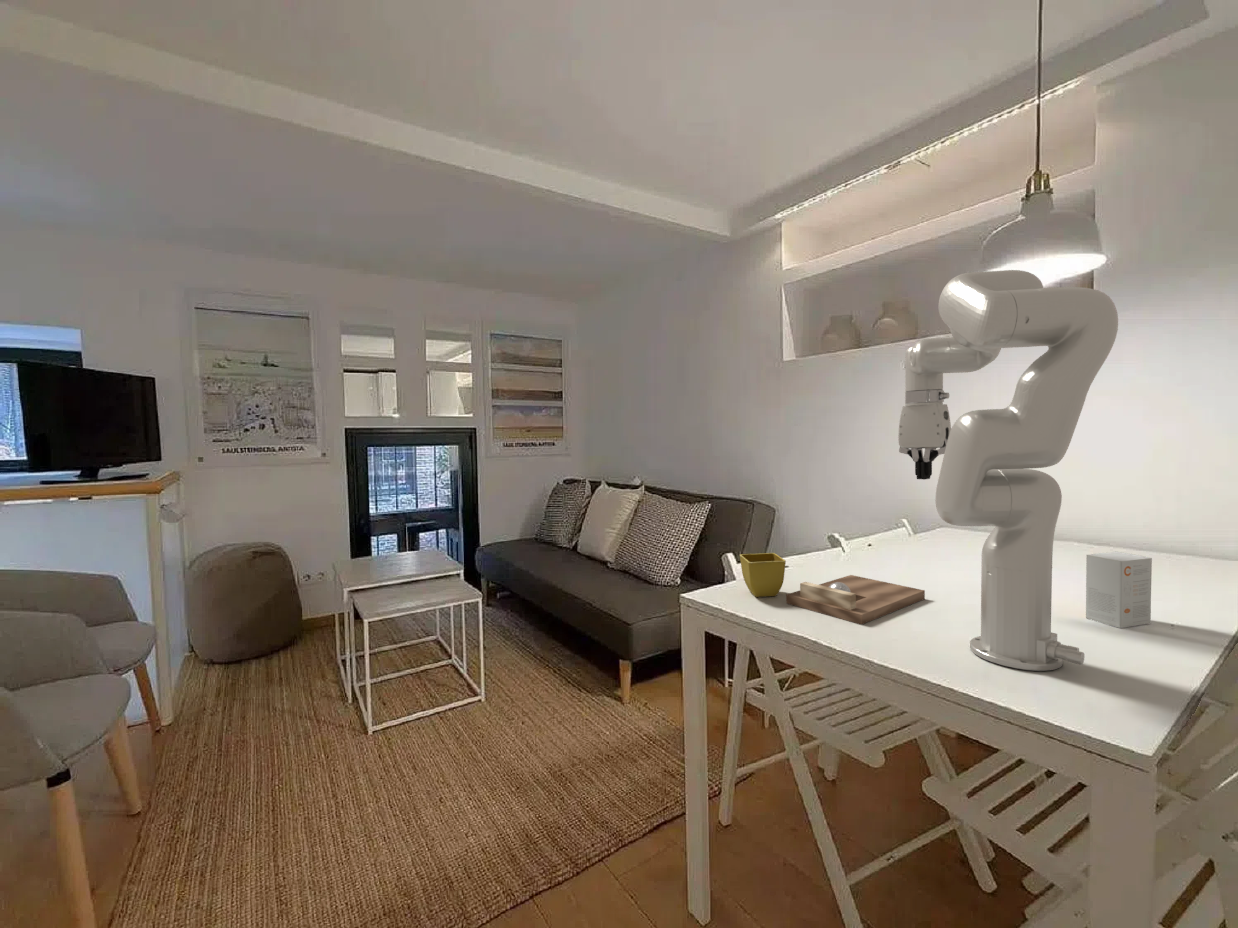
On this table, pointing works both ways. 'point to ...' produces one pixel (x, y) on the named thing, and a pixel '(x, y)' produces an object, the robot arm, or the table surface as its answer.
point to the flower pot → (763, 573)
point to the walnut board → (865, 599)
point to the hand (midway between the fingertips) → (923, 478)
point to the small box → (1118, 589)
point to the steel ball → (840, 586)
